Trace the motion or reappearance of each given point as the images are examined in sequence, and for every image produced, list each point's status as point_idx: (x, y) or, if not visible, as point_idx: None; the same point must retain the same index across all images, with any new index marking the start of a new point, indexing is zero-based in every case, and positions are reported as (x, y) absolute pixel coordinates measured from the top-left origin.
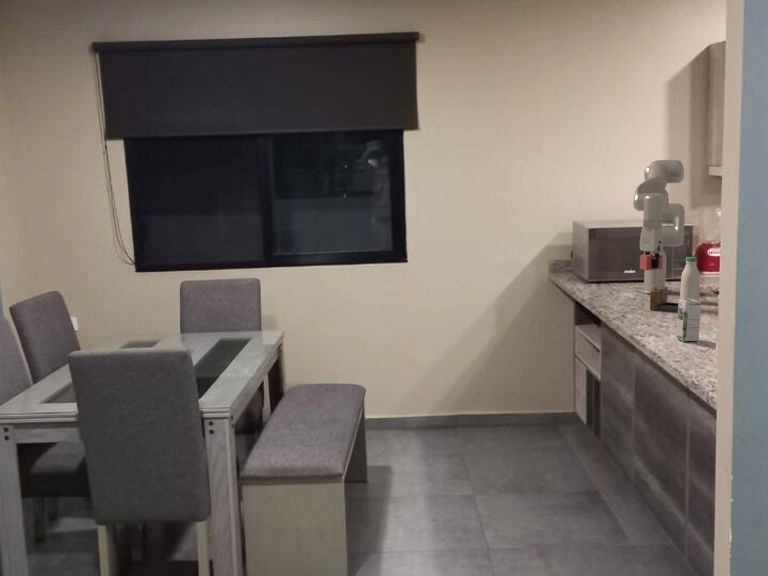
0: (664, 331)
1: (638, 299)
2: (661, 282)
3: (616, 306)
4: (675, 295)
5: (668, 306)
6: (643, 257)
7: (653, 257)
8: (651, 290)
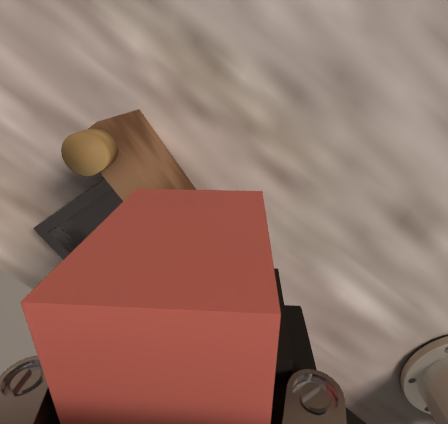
0: None
1: (389, 236)
2: (442, 418)
3: (308, 5)
4: (361, 389)
5: (95, 185)
6: (154, 280)
7: (36, 382)
8: (94, 129)
